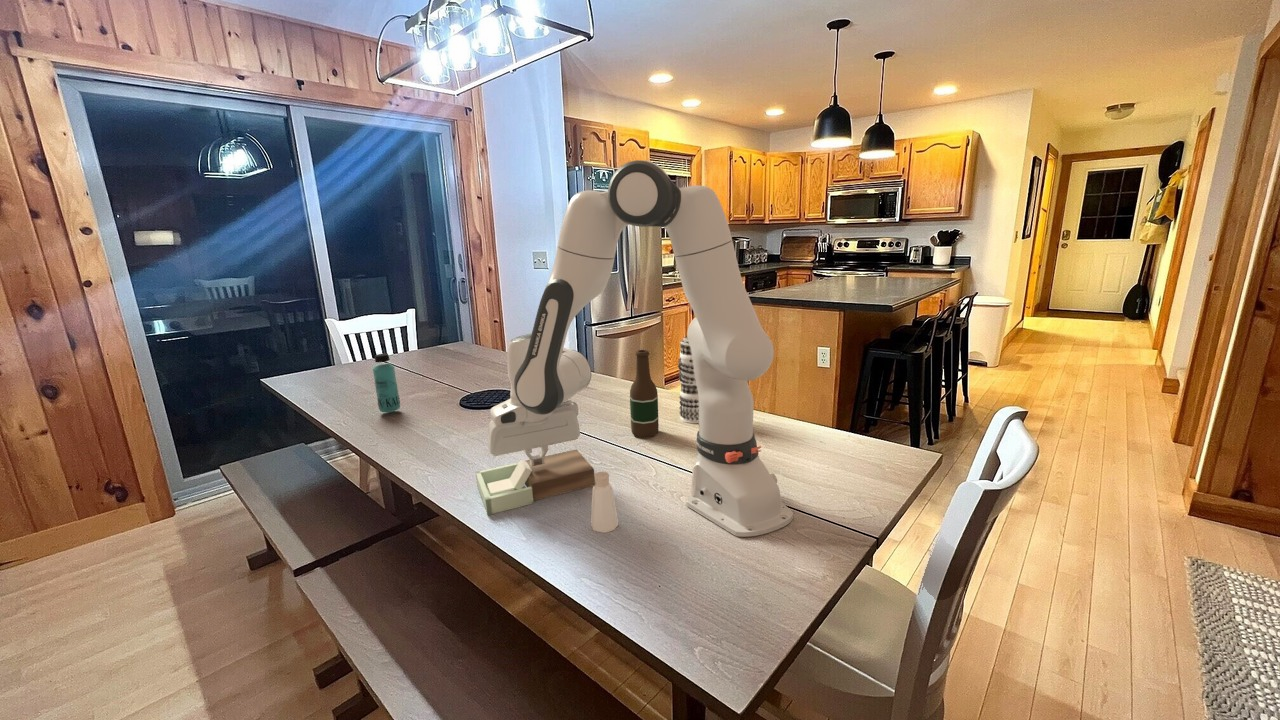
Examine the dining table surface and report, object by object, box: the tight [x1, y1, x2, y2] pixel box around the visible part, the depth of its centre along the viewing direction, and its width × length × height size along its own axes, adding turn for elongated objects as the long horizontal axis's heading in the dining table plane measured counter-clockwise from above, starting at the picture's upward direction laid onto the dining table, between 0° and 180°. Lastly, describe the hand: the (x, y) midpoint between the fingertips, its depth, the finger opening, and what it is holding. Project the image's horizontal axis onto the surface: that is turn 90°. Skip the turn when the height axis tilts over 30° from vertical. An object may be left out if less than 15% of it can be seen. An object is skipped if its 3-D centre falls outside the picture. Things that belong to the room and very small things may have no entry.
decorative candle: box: [677, 335, 699, 424], centre depth 149 cm, size 9×9×25 cm
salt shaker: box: [590, 471, 619, 534], centre depth 98 cm, size 5×5×11 cm
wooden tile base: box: [524, 448, 596, 502], centre depth 117 cm, size 12×14×4 cm
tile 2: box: [509, 459, 532, 489], centre depth 113 cm, size 5×5×2 cm
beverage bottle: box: [372, 353, 401, 413], centre depth 163 cm, size 6×7×20 cm
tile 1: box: [487, 479, 514, 496], centre depth 112 cm, size 5×5×2 cm
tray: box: [475, 462, 534, 516], centre depth 112 cm, size 14×10×4 cm
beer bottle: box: [629, 349, 660, 440], centre depth 139 cm, size 8×8×24 cm
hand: (537, 464), depth 114 cm, fingers closed
